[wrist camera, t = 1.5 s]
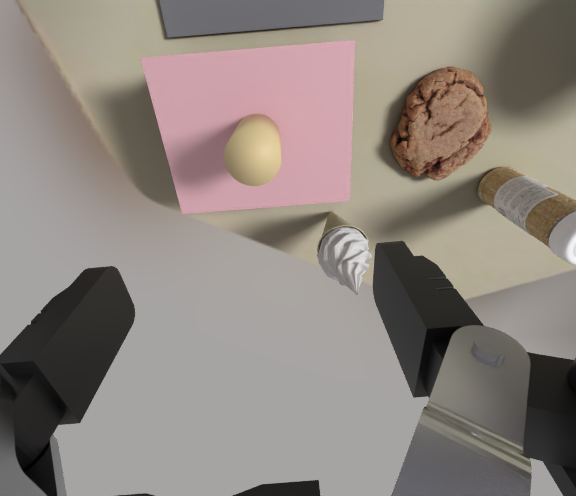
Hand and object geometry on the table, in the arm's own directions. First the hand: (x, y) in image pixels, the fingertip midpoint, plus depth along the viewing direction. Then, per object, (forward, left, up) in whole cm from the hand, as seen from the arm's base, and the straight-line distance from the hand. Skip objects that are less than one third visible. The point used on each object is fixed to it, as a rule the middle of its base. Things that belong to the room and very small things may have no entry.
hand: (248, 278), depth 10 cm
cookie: (+1, +17, -27) cm, 32 cm away
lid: (0, -1, -20) cm, 20 cm away
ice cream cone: (+11, +6, -26) cm, 29 cm away
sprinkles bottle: (+9, +25, -26) cm, 38 cm away
